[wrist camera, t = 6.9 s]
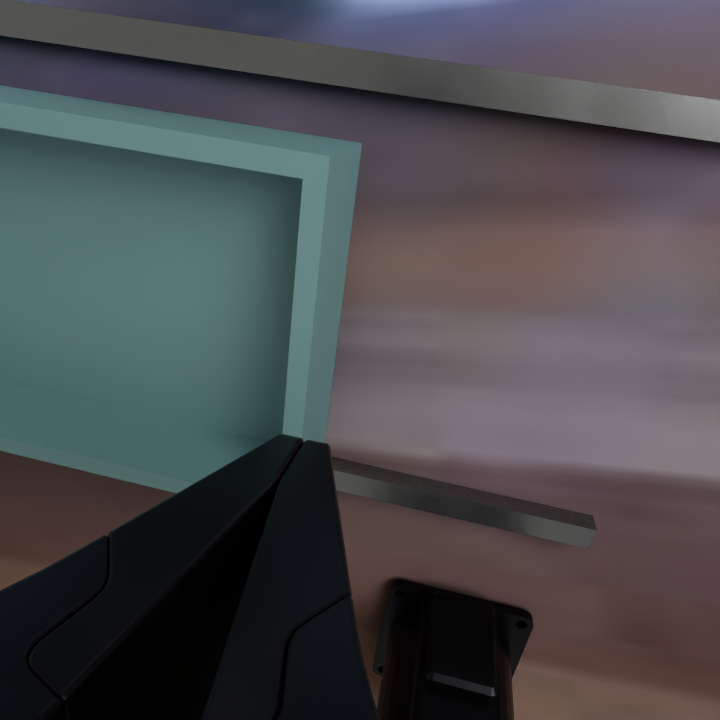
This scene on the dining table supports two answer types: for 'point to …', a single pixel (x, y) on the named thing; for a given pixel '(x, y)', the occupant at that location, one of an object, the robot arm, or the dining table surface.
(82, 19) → the cart rails
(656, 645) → the dining table surface
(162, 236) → the teal tray
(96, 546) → the robot arm
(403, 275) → the dining table surface
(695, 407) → the dining table surface
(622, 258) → the dining table surface
